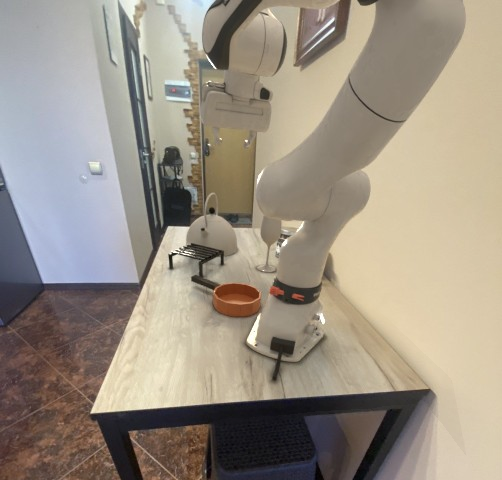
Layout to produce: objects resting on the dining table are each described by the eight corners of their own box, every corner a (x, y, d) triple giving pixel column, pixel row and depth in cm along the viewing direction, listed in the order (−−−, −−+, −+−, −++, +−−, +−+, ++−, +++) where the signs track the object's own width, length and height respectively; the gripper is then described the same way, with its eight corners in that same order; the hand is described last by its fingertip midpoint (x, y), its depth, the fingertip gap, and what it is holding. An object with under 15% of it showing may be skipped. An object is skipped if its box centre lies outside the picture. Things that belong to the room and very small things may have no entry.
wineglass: (260, 272, 109) (266, 214, 97) (254, 265, 115) (259, 209, 103) (278, 272, 111) (286, 215, 99) (272, 265, 117) (279, 210, 105)
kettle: (229, 261, 116) (231, 201, 103) (176, 254, 118) (171, 194, 106) (241, 244, 136) (244, 192, 124) (196, 238, 139) (194, 186, 126)
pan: (268, 304, 88) (269, 292, 86) (241, 322, 78) (242, 309, 76) (208, 280, 99) (208, 269, 97) (177, 293, 89) (177, 281, 87)
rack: (201, 277, 101) (200, 260, 97) (169, 268, 105) (168, 252, 102) (223, 264, 113) (224, 249, 110) (194, 256, 117) (193, 241, 114)
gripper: (206, 81, 68) (203, 148, 78) (278, 94, 76) (266, 152, 86) (197, 76, 71) (195, 140, 81) (267, 89, 80) (257, 145, 90)
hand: (232, 146), depth 84 cm, fingers open, 8 cm apart
